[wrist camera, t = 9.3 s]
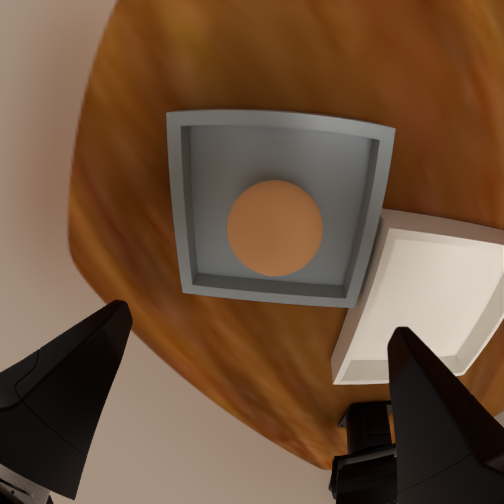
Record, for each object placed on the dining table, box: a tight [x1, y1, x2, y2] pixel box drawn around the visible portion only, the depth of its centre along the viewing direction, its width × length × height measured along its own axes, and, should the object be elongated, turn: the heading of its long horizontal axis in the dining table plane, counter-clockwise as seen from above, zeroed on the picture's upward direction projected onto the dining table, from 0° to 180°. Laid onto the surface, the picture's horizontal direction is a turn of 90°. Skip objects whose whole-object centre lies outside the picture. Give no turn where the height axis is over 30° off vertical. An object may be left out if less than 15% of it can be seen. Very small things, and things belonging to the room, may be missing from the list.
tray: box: [166, 109, 395, 308], centre depth 17 cm, size 12×12×2 cm
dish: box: [331, 208, 504, 384], centre depth 19 cm, size 15×15×3 cm
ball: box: [227, 180, 323, 276], centre depth 15 cm, size 5×5×5 cm
